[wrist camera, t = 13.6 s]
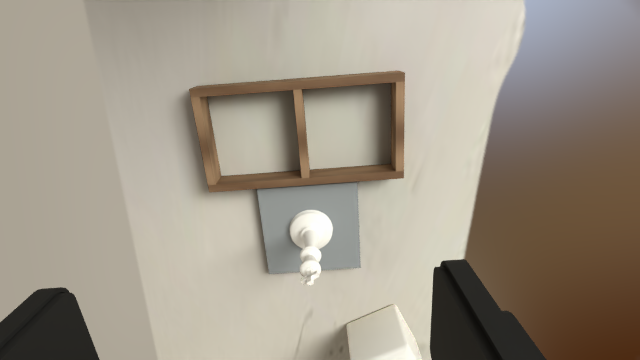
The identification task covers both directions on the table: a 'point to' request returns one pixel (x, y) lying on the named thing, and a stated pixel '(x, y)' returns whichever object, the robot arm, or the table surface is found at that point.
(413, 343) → the medicine bottle
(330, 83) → the bay frame
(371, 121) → the table surface
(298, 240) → the chess piece
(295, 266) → the pad
